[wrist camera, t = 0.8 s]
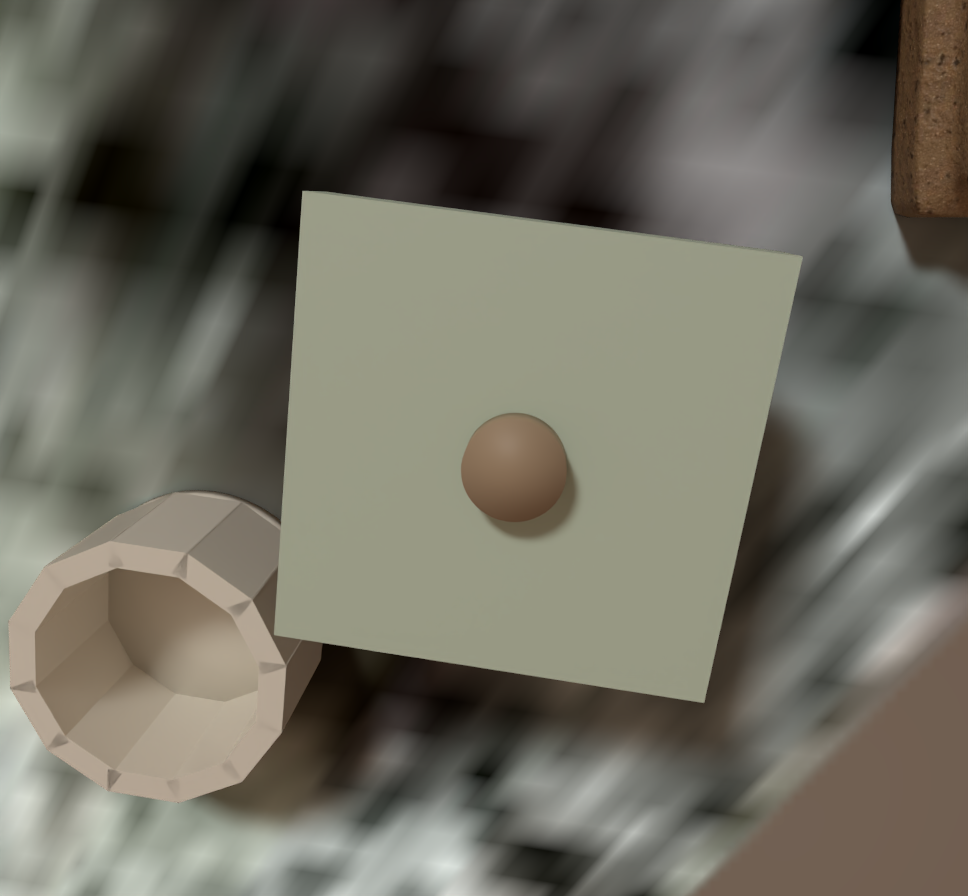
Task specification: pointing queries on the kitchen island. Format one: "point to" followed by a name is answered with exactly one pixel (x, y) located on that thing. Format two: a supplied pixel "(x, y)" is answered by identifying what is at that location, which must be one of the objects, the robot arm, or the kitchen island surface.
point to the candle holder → (931, 110)
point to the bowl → (162, 648)
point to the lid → (522, 440)
